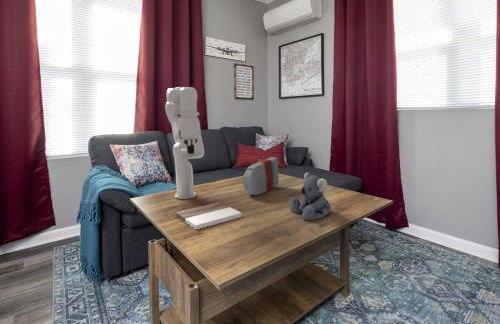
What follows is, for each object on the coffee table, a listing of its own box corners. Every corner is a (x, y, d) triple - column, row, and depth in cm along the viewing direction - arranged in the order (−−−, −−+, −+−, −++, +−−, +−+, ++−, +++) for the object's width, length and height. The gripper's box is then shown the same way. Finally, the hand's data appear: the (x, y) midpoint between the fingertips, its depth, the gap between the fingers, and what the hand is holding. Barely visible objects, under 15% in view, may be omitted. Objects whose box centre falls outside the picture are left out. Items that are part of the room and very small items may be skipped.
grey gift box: (270, 156, 186) (240, 167, 163) (279, 156, 182) (249, 168, 159) (272, 184, 190) (242, 199, 168) (280, 186, 186) (251, 201, 164)
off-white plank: (185, 222, 129) (185, 218, 129) (229, 210, 144) (229, 207, 144) (195, 229, 122) (195, 225, 121) (241, 216, 136) (241, 212, 136)
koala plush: (287, 210, 144) (288, 172, 141) (318, 205, 150) (319, 169, 147) (306, 222, 128) (307, 179, 125) (339, 216, 134) (341, 176, 131)
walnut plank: (175, 216, 138) (175, 212, 137) (218, 205, 152) (218, 202, 152) (184, 222, 130) (184, 218, 129) (229, 210, 144) (229, 206, 144)
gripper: (199, 114, 143) (200, 151, 147) (170, 115, 134) (173, 154, 138) (206, 114, 138) (208, 152, 141) (177, 115, 129) (179, 156, 132)
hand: (190, 153), depth 139 cm, fingers closed
